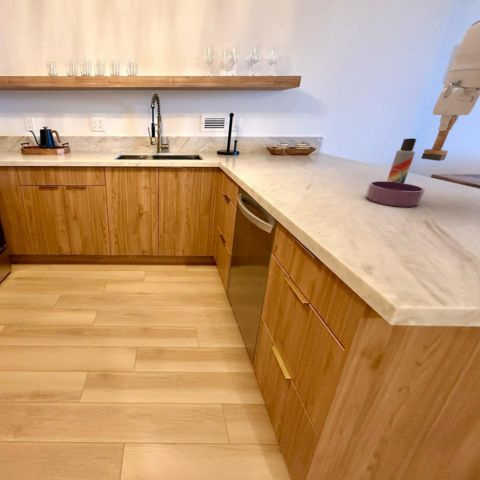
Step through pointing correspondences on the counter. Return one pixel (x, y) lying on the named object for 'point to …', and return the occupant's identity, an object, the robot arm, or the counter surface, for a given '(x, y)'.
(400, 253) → the counter surface
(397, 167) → the lotion bottle
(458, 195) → the counter surface
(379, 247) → the counter surface
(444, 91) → the robot arm
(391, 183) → the plum bowl
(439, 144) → the dish brush
